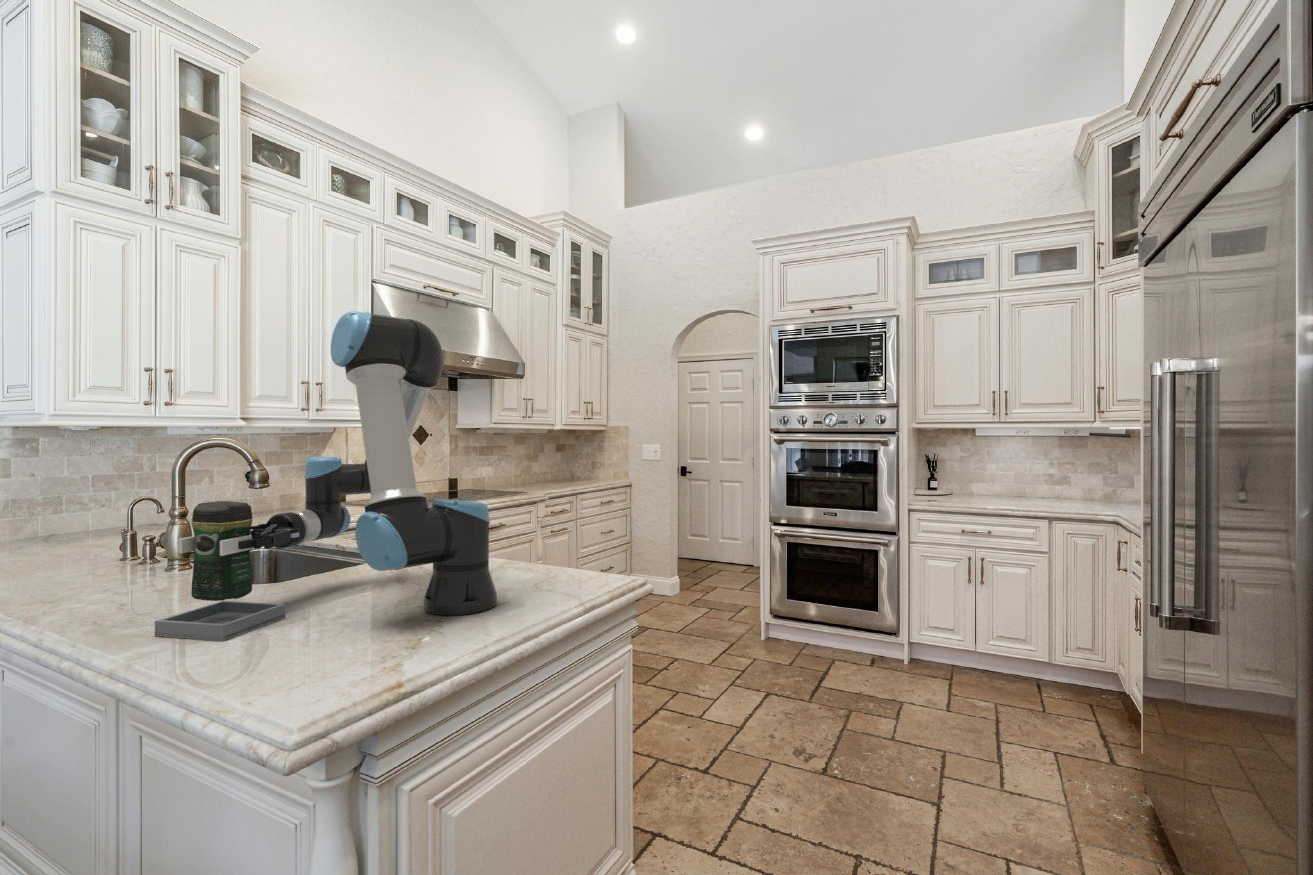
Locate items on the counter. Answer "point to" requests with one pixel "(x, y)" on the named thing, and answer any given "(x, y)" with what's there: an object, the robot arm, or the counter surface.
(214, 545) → the coffee jar
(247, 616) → the holder
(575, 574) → the counter surface
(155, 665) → the counter surface
